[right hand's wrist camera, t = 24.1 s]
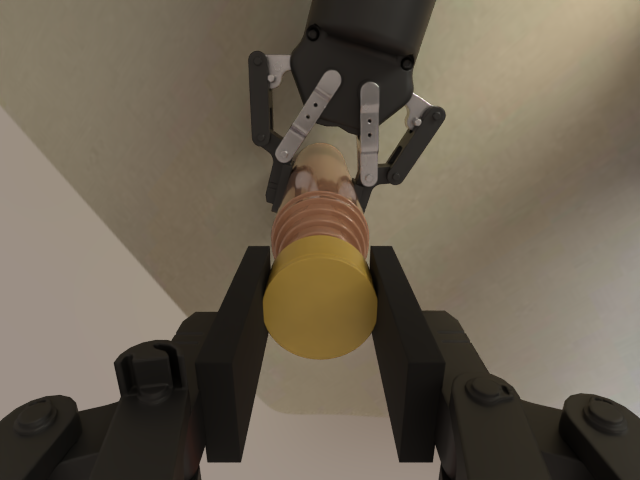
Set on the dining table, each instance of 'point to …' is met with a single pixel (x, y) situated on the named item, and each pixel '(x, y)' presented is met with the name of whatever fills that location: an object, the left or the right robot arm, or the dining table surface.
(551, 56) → the dining table surface
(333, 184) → the bottle
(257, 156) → the dining table surface
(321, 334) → the cap
